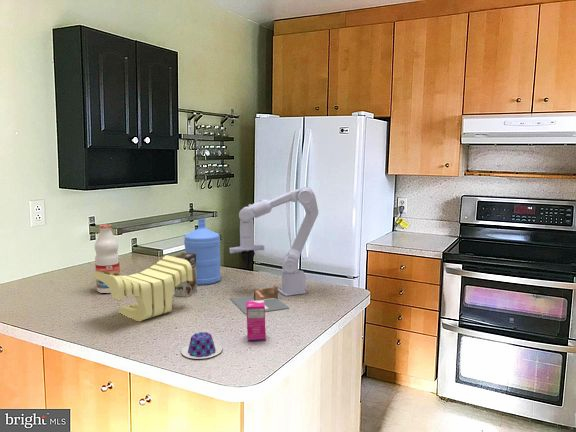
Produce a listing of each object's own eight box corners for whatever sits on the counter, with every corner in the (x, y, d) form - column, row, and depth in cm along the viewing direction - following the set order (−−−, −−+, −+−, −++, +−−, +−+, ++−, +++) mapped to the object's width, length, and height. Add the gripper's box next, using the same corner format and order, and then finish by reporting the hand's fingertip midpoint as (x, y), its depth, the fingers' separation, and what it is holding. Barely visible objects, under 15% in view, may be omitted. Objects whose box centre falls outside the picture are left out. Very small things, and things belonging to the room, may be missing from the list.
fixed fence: (276, 297, 191) (276, 286, 190) (278, 299, 189) (278, 287, 189) (252, 300, 187) (252, 289, 186) (254, 302, 185) (254, 290, 185)
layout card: (270, 294, 195) (270, 293, 195) (289, 308, 178) (289, 307, 178) (230, 299, 189) (230, 298, 189) (245, 314, 171) (245, 313, 171)
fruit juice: (120, 286, 206) (116, 222, 202) (121, 292, 197) (118, 226, 193) (96, 289, 202) (92, 224, 198) (97, 295, 194) (93, 227, 190)
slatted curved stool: (121, 330, 157) (118, 278, 154) (96, 319, 167) (93, 270, 164) (193, 307, 180) (192, 261, 177) (167, 298, 190) (166, 255, 187)
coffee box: (188, 297, 192) (187, 258, 189) (174, 296, 193) (172, 257, 191) (197, 290, 200) (196, 253, 198) (183, 289, 202) (182, 252, 199)
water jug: (227, 279, 218) (226, 218, 214) (204, 287, 205) (202, 223, 201) (202, 274, 226) (200, 215, 222) (178, 282, 213) (176, 220, 209)
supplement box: (246, 334, 154) (246, 300, 152) (265, 334, 154) (265, 299, 152) (246, 341, 148) (246, 306, 146) (265, 341, 148) (265, 305, 147)
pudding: (172, 352, 141) (172, 335, 140) (205, 340, 150) (204, 324, 149) (198, 365, 133) (197, 347, 132) (230, 351, 142) (230, 334, 141)
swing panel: (255, 300, 185) (255, 290, 185) (258, 300, 186) (258, 290, 185) (261, 307, 177) (260, 297, 176) (264, 307, 177) (264, 296, 177)
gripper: (260, 233, 202) (260, 264, 204) (227, 235, 196) (227, 268, 198) (266, 236, 196) (266, 268, 197) (232, 238, 190) (232, 272, 192)
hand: (247, 268), depth 197 cm, fingers closed
